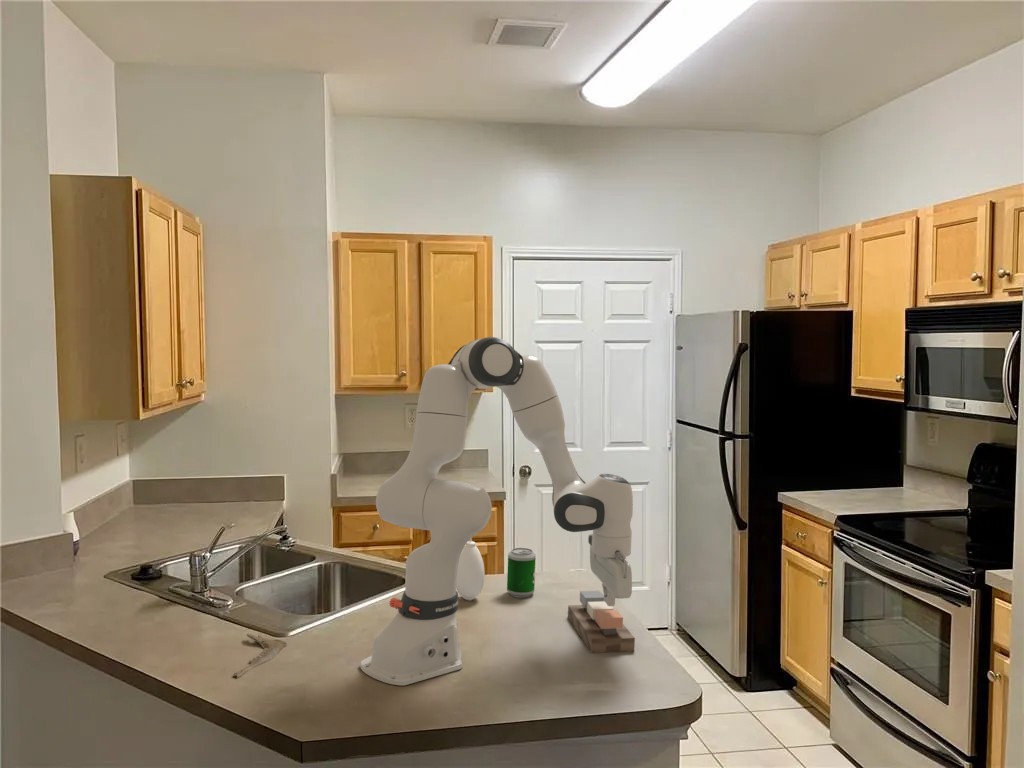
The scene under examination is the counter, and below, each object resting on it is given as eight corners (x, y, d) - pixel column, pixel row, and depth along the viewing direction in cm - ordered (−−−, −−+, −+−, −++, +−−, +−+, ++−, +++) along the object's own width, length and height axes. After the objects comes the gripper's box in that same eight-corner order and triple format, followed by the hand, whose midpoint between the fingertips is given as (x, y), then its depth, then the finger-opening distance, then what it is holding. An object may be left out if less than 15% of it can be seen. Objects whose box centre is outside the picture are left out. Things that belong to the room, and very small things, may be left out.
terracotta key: (621, 641, 180) (623, 617, 179) (600, 642, 179) (601, 618, 178) (615, 633, 184) (616, 609, 184) (594, 634, 184) (595, 610, 183)
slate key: (604, 620, 193) (605, 597, 193) (584, 620, 192) (585, 597, 192) (598, 612, 198) (599, 590, 198) (579, 613, 197) (580, 591, 197)
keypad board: (634, 651, 179) (634, 638, 178) (591, 652, 177) (592, 639, 177) (606, 615, 200) (606, 604, 200) (567, 616, 198) (568, 605, 198)
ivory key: (612, 632, 186) (613, 608, 186) (592, 632, 186) (593, 609, 185) (606, 624, 191) (607, 601, 191) (586, 624, 190) (587, 601, 190)
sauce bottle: (482, 604, 205) (485, 536, 204) (452, 603, 205) (454, 535, 204) (484, 594, 213) (486, 529, 212) (455, 593, 213) (457, 528, 212)
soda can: (531, 600, 210) (533, 555, 209) (504, 597, 212) (505, 553, 211) (536, 591, 217) (538, 548, 217) (509, 588, 219) (511, 545, 218)
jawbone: (287, 641, 180) (288, 633, 179) (279, 683, 160) (280, 673, 159) (246, 640, 178) (247, 631, 178) (232, 681, 158) (233, 671, 158)
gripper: (640, 558, 171) (637, 620, 172) (611, 533, 191) (608, 588, 192) (612, 559, 170) (610, 621, 171) (586, 533, 190) (583, 589, 191)
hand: (609, 604), depth 182 cm, fingers closed
